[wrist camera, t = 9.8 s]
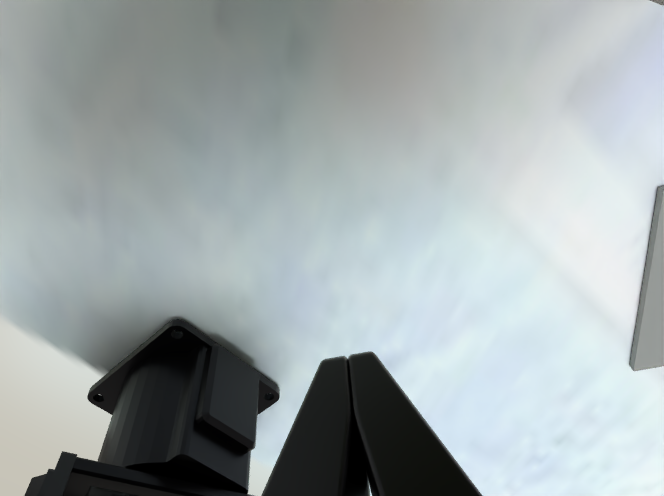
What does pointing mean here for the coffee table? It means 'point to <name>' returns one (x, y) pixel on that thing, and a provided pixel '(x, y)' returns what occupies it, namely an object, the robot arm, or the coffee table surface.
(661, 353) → the mat
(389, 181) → the coffee table surface
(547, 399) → the coffee table surface
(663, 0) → the grey wooden rounded board
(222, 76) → the coffee table surface
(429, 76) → the coffee table surface
